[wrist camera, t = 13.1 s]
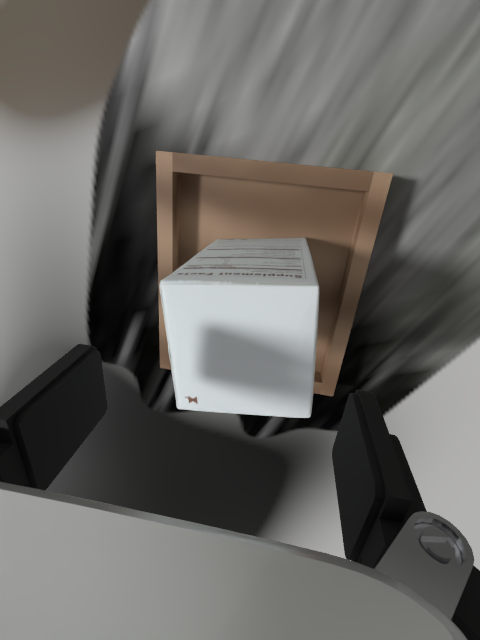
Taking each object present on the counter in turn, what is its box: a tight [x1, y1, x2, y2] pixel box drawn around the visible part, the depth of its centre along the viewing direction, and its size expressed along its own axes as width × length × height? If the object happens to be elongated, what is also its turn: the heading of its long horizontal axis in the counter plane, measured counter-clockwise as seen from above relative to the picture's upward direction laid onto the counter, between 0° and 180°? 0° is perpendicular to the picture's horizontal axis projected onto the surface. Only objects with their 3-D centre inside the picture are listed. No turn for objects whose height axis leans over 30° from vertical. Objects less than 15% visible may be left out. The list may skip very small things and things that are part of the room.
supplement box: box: [159, 238, 319, 418], centre depth 21 cm, size 7×7×13 cm
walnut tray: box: [156, 151, 393, 396], centre depth 26 cm, size 18×16×2 cm
